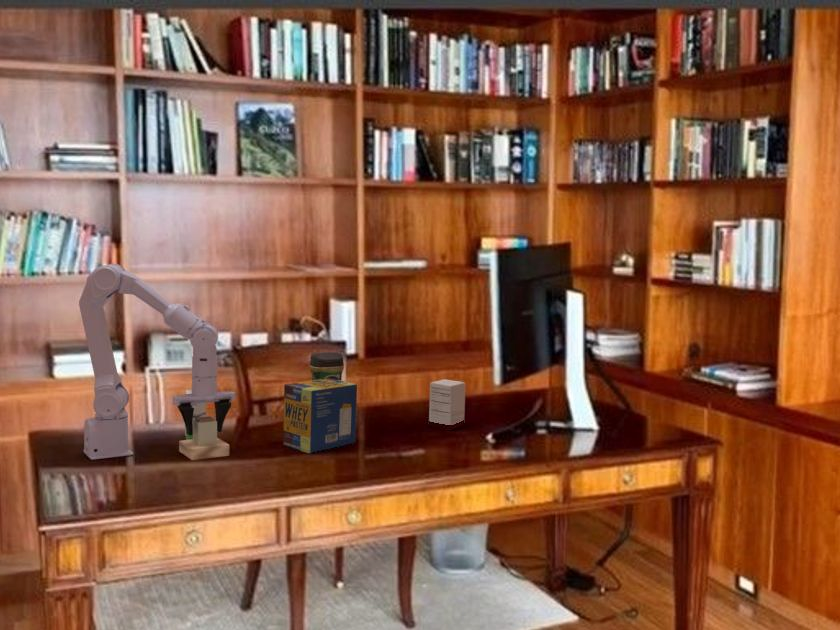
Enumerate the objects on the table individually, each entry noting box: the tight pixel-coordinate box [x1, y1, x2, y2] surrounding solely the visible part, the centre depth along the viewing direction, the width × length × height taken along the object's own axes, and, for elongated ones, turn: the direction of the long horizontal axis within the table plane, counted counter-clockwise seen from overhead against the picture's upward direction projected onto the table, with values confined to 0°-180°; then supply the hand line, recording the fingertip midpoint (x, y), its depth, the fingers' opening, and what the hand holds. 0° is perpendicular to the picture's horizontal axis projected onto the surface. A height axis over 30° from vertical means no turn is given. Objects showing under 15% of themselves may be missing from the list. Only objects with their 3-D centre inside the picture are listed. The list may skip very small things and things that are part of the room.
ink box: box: [184, 389, 207, 440], centre depth 218 cm, size 9×5×12 cm, turn 18°
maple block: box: [178, 437, 230, 461], centre depth 204 cm, size 9×9×3 cm
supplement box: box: [428, 378, 466, 425], centre depth 239 cm, size 7×7×13 cm
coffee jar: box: [309, 351, 345, 381], centre depth 247 cm, size 10×8×19 cm
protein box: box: [283, 378, 358, 454], centre depth 215 cm, size 10×15×16 cm
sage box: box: [193, 415, 218, 446], centre depth 203 cm, size 4×4×6 cm
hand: (204, 432), depth 204 cm, fingers open, 6 cm apart
